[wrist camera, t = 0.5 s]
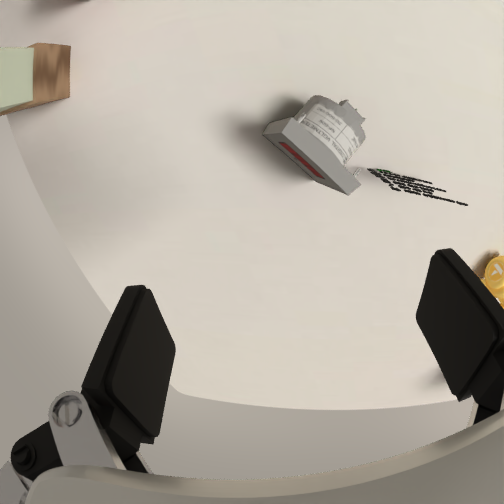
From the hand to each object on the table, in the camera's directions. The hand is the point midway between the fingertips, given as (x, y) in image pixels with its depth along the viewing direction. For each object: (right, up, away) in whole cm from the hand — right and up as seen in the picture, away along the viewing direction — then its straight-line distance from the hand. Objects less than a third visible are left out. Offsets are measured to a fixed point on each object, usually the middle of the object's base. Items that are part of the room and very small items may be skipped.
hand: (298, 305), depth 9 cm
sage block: (-30, +23, +12) cm, 40 cm away
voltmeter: (+13, +15, +27) cm, 33 cm away
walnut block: (-31, +27, +18) cm, 45 cm away
